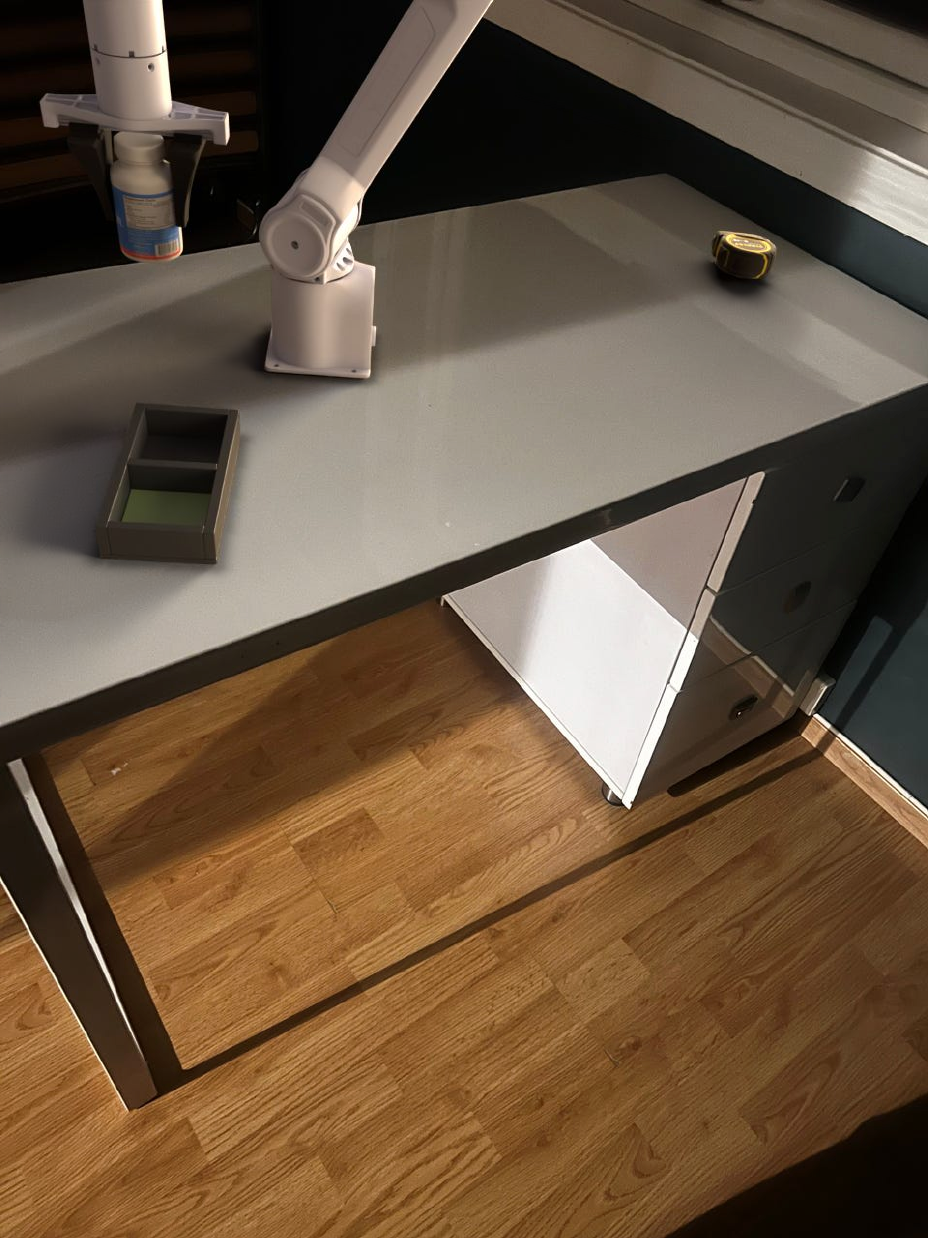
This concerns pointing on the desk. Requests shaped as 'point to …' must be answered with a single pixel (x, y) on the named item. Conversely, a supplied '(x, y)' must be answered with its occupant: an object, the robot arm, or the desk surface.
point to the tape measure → (743, 254)
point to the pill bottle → (144, 199)
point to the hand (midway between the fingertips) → (148, 219)
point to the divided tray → (170, 485)
